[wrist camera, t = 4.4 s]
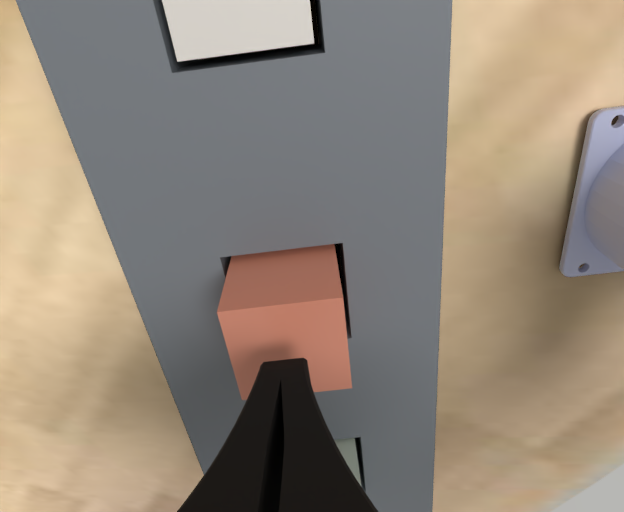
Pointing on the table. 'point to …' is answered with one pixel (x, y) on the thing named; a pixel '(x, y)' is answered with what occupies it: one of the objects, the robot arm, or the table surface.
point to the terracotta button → (286, 315)
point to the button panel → (273, 199)
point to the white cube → (236, 26)
